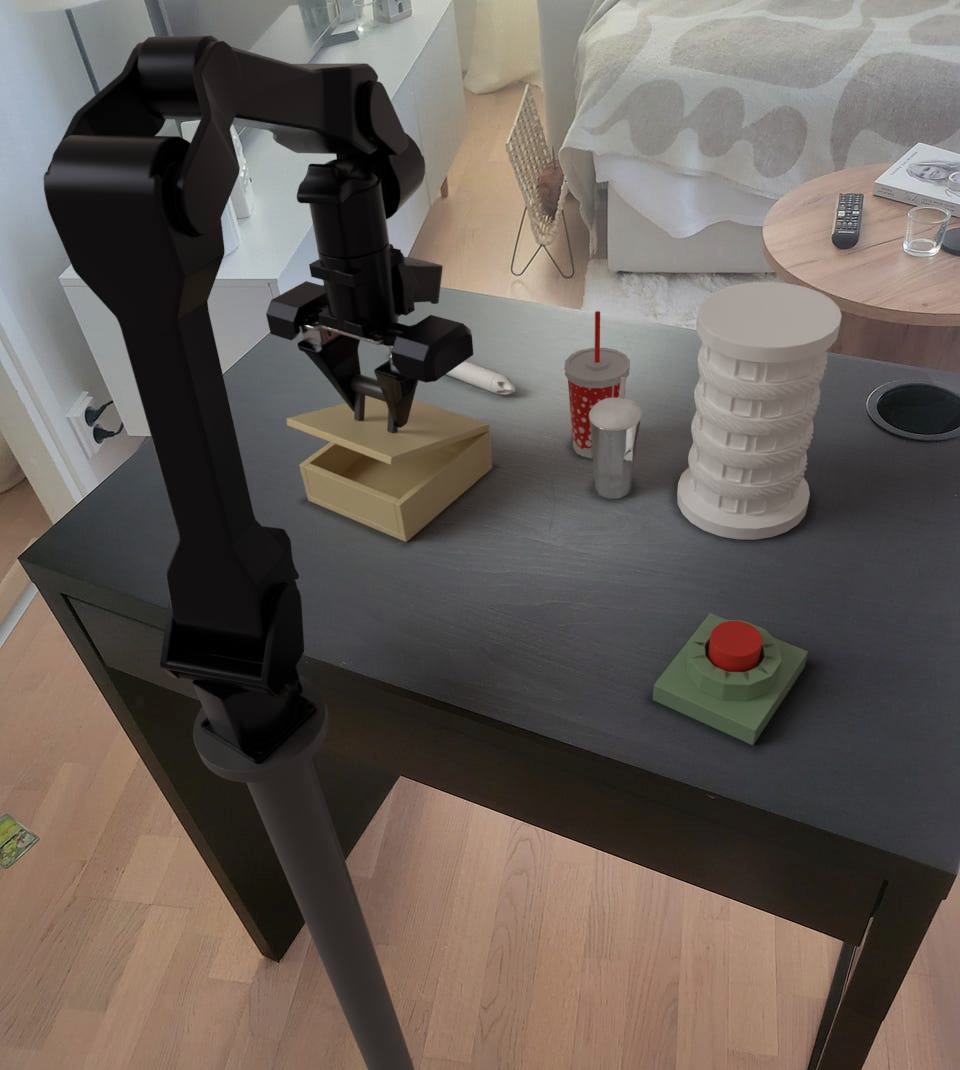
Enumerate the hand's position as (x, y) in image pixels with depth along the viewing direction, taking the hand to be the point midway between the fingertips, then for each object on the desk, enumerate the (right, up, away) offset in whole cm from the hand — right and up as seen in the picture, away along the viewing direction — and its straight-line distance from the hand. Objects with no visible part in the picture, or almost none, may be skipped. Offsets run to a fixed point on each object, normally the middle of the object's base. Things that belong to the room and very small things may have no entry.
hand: (380, 418), depth 86 cm
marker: (+6, +9, +20) cm, 23 cm away
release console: (+28, -23, -15) cm, 39 cm away
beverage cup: (+21, -1, +9) cm, 22 cm away
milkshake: (+22, -6, +4) cm, 23 cm away
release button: (+28, -21, -17) cm, 39 cm away
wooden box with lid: (+1, -1, +2) cm, 2 cm away
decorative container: (+33, -7, +1) cm, 34 cm away
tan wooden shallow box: (+1, -5, +6) cm, 8 cm away
